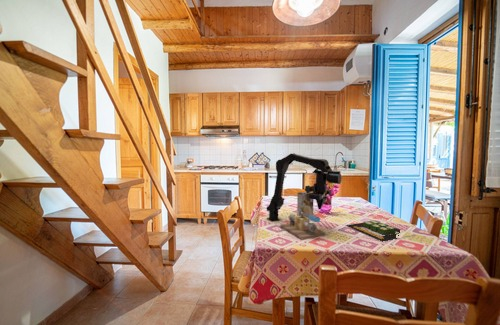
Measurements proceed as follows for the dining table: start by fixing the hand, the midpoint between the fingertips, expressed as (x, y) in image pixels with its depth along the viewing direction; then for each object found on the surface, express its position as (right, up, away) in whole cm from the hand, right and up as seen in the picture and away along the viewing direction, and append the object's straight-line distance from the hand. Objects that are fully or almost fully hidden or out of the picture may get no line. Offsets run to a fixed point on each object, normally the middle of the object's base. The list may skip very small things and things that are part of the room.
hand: (319, 209), depth 129 cm
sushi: (+35, -14, +3) cm, 37 cm away
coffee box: (-1, -11, +28) cm, 30 cm away
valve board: (-10, -12, 0) cm, 16 cm away
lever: (-8, -4, -6) cm, 10 cm away
